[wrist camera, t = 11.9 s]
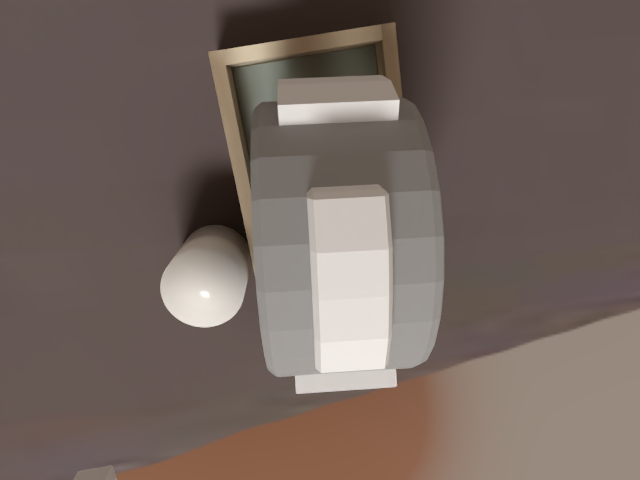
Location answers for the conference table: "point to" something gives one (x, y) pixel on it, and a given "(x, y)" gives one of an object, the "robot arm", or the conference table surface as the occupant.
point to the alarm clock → (345, 233)
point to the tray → (288, 63)
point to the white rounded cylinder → (207, 277)
